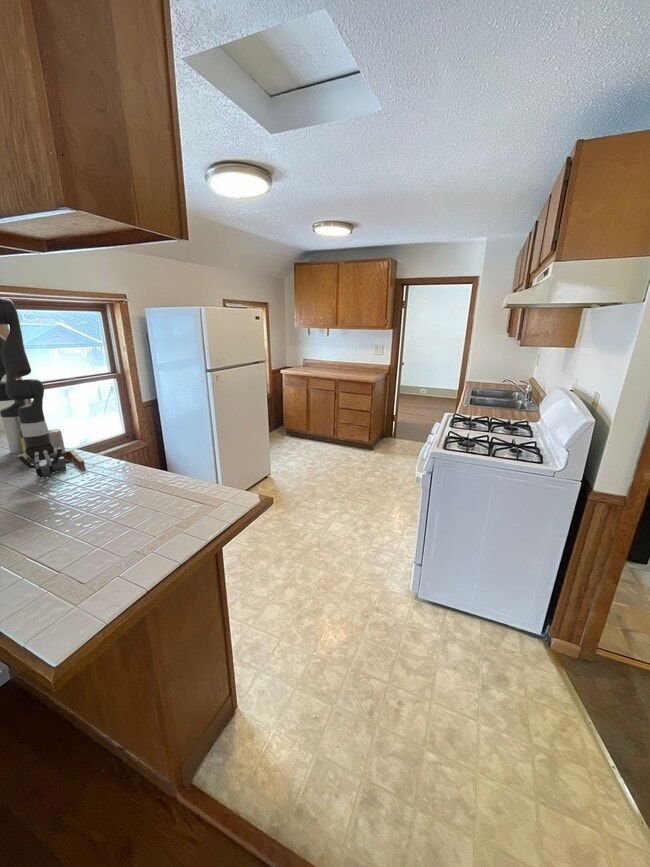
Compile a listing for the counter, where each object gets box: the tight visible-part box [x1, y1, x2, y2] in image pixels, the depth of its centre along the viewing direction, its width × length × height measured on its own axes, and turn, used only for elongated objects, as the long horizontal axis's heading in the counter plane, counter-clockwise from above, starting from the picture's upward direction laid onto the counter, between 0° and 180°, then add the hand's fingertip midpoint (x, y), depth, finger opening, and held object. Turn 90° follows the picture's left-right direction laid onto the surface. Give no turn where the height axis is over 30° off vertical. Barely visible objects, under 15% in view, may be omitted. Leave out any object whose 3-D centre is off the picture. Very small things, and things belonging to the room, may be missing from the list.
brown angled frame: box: [41, 449, 86, 472], centre depth 142 cm, size 18×11×4 cm, turn 46°
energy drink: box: [48, 429, 66, 454], centre depth 152 cm, size 5×5×12 cm
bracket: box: [39, 457, 67, 479], centre depth 136 cm, size 7×8×5 cm
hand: (45, 475), depth 133 cm, fingers closed on bracket, 2 cm apart
